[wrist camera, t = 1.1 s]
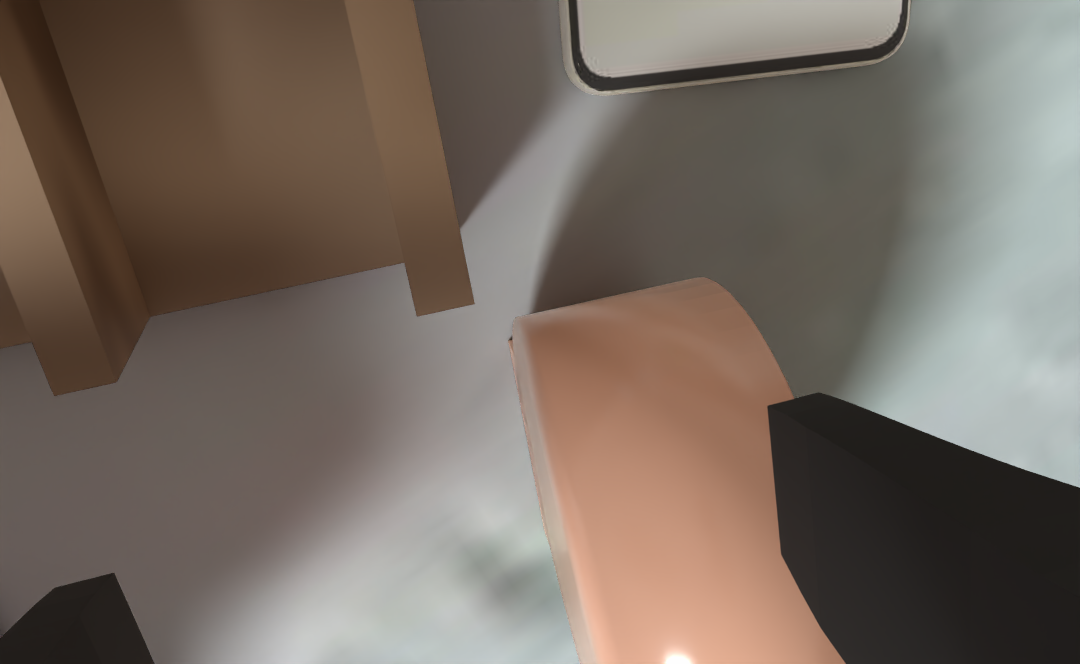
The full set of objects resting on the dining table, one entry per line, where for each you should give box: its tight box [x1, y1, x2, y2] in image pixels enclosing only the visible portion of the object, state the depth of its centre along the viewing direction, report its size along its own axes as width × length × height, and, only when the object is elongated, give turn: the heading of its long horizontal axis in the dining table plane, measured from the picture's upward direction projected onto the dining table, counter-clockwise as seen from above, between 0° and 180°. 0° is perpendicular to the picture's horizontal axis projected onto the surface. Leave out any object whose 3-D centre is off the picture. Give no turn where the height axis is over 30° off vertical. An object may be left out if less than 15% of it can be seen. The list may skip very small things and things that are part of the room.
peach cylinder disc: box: [508, 277, 846, 664], centre depth 18 cm, size 9×4×9 cm, turn 9°
